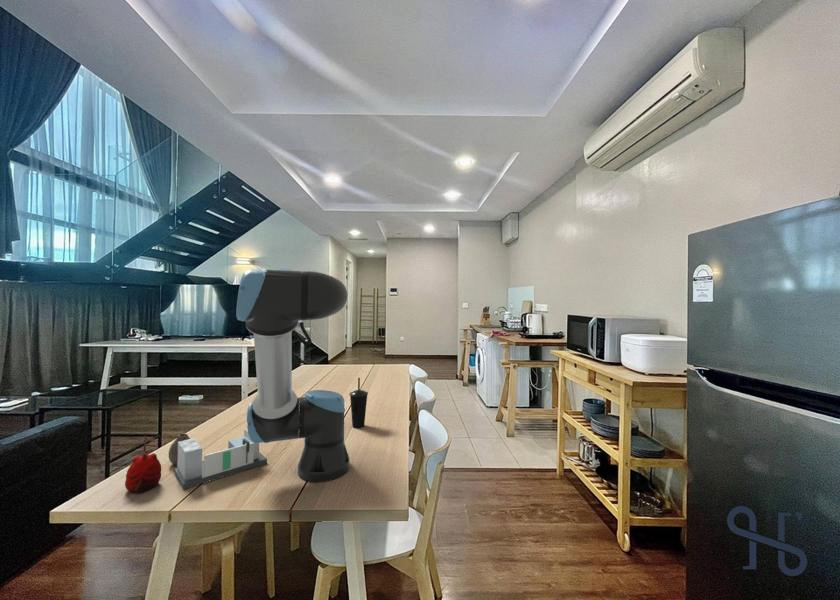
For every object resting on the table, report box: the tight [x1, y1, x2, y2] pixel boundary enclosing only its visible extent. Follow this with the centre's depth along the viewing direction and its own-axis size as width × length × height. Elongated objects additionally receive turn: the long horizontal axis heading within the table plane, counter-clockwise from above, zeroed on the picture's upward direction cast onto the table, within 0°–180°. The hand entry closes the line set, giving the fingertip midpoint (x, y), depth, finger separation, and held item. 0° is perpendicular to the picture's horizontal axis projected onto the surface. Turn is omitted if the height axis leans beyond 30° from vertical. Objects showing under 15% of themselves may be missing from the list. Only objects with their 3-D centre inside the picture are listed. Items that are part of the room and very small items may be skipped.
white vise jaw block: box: [176, 437, 203, 482], centre depth 97 cm, size 10×4×8 cm, turn 45°
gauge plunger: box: [227, 428, 260, 459], centre depth 106 cm, size 12×7×7 cm, turn 45°
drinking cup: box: [348, 377, 369, 429], centre depth 140 cm, size 8×8×20 cm
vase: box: [168, 433, 191, 466], centre depth 106 cm, size 7×7×9 cm
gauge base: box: [174, 443, 268, 490], centre depth 103 cm, size 12×22×8 cm, turn 135°
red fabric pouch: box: [124, 434, 162, 494], centre depth 92 cm, size 8×7×15 cm
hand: (284, 361), depth 133 cm, fingers open, 13 cm apart
